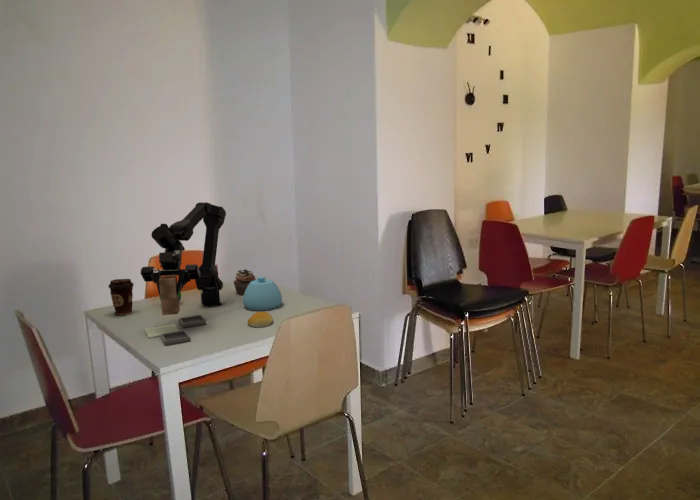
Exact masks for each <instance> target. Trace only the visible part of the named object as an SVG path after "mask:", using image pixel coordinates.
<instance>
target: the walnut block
mask: <svg viewBox="0 0 700 500" xmlns="http://www.w3.org/2000/svg"><path fill="white" fill-rule="evenodd" d="M177 283H178V275H174V276H161V278H160V279H159V287H160V296H159V298H160V297H161V300H160V304H161V305H160V306H161V315H162V316H170V315H171V316H172V315H178V314H179V312H180V311H181V308H180V302H179V296H178V295H177V294H176V288H177Z"/></svg>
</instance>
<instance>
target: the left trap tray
mask: <svg viewBox="0 0 700 500" xmlns="http://www.w3.org/2000/svg"><path fill="white" fill-rule="evenodd" d="M160 339H161V341H162V343H163V344H164V345H163V346H165V347H167V346H171V345H177V344H178V345H179V344H182V343H183V344H184V343H188V342H191V341H192V340H191V336H190V334H189V333H188V331H187V330H186V329H183V330H182V329H181V330H179V331H176V332H170V333H164V334H161V336H160Z"/></svg>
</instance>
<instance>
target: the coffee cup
mask: <svg viewBox="0 0 700 500" xmlns="http://www.w3.org/2000/svg"><path fill="white" fill-rule="evenodd" d="M134 284H135V283H134V282H133V281H132V279H131V278H118V279H117V278H116V279H111V280H110V282H109V284H108V286H107V287H108V288H109V291H110V296H111V298H110V299H111V301H112V306H113V307H114V310H115V311H114V314H115V315H117V316H126V315H132V314H133V312H134V311H133V297H134V295H133V290H134V289H133V288H134Z"/></svg>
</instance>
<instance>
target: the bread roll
mask: <svg viewBox="0 0 700 500" xmlns="http://www.w3.org/2000/svg"><path fill="white" fill-rule="evenodd" d="M273 321H274V318H273V316H272V315H271V313H269V312H266V311H257V312H255V313H254V314H252V315H251V317H249V318H248V320H247V321H246V322H247V325H248V326H249V327H251V326H252V328H257V327H258V328H264V326H265V327H268V326H270V325H271V324H272V323H273Z"/></svg>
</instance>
